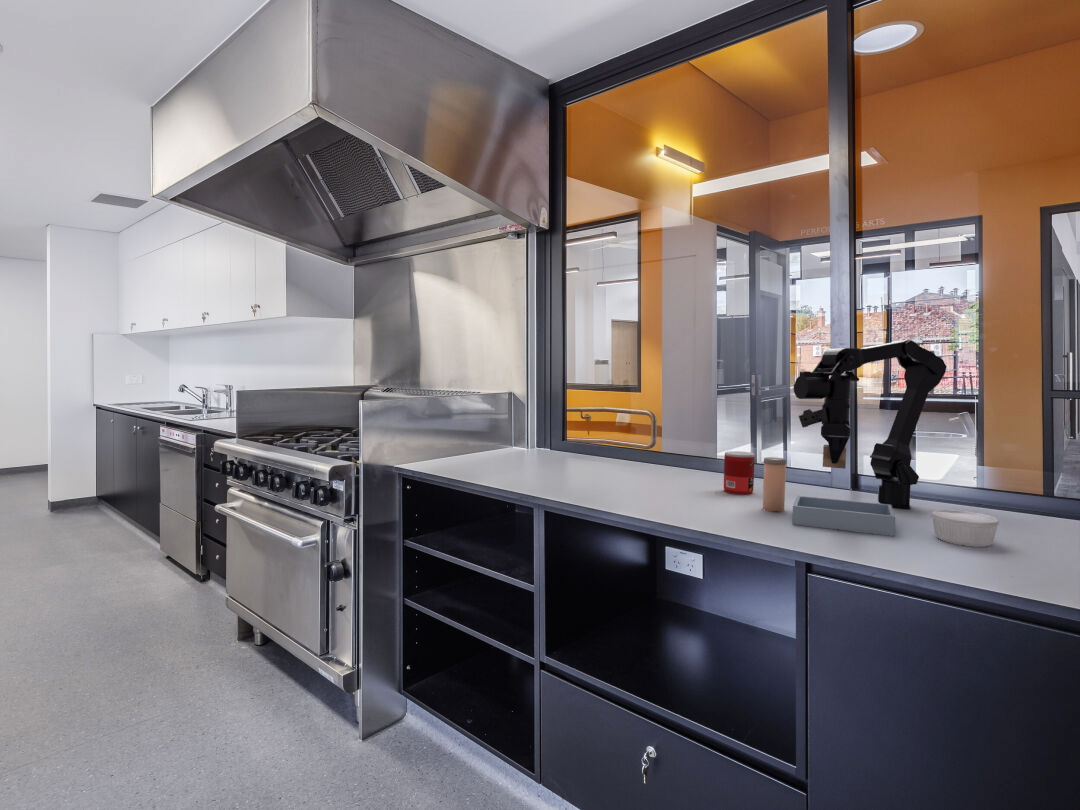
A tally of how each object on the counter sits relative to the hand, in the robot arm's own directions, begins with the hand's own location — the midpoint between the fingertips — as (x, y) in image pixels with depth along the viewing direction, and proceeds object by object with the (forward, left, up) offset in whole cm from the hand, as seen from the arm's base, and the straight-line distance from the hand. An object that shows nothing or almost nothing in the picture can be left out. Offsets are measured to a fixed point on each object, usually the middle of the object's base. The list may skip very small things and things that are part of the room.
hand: (834, 462), depth 147 cm
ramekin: (-24, +19, -12) cm, 33 cm away
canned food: (+24, -9, -12) cm, 28 cm away
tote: (-2, +16, -12) cm, 20 cm away
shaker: (+13, +9, -12) cm, 19 cm away
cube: (0, 0, -1) cm, 1 cm away
